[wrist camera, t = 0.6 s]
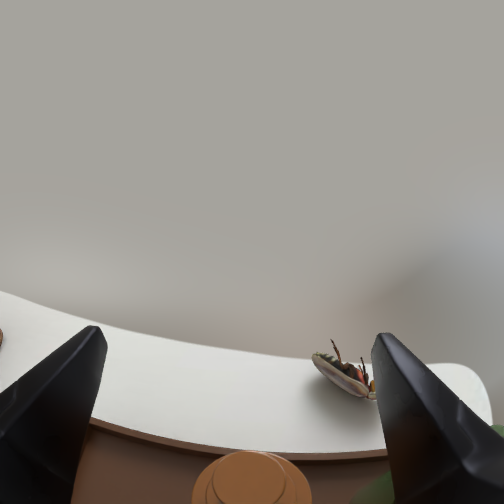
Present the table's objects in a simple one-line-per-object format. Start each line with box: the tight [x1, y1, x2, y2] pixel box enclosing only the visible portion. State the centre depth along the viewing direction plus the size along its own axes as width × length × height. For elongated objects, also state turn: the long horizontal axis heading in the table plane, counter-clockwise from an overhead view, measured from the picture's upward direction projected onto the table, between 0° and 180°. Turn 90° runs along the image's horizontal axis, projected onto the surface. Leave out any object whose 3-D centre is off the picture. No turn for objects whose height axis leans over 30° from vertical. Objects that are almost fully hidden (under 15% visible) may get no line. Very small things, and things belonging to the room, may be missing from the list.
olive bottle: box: [349, 425, 504, 504], centre depth 10 cm, size 5×5×14 cm
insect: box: [312, 340, 377, 400], centre depth 23 cm, size 6×9×3 cm
